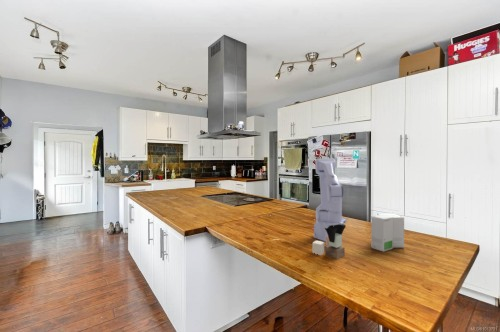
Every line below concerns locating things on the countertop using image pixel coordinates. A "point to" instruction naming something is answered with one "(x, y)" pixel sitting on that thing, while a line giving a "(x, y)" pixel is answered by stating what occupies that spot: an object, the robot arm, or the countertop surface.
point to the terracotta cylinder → (327, 240)
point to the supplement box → (397, 229)
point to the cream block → (318, 247)
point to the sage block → (337, 241)
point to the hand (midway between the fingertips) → (334, 240)
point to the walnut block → (335, 251)
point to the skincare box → (382, 232)
